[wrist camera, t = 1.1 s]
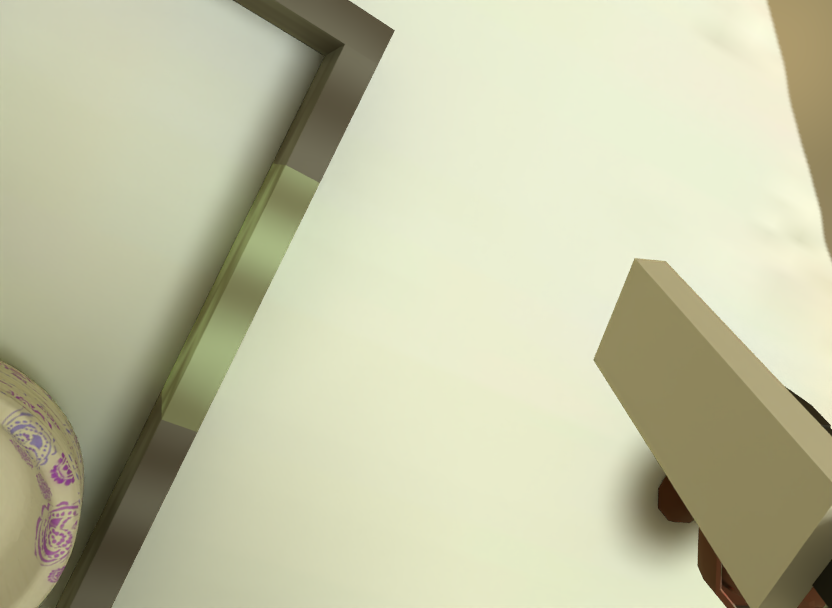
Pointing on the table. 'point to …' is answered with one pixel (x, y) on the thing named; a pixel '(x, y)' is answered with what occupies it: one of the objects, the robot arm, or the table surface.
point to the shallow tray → (235, 283)
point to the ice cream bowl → (714, 555)
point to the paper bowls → (35, 490)
